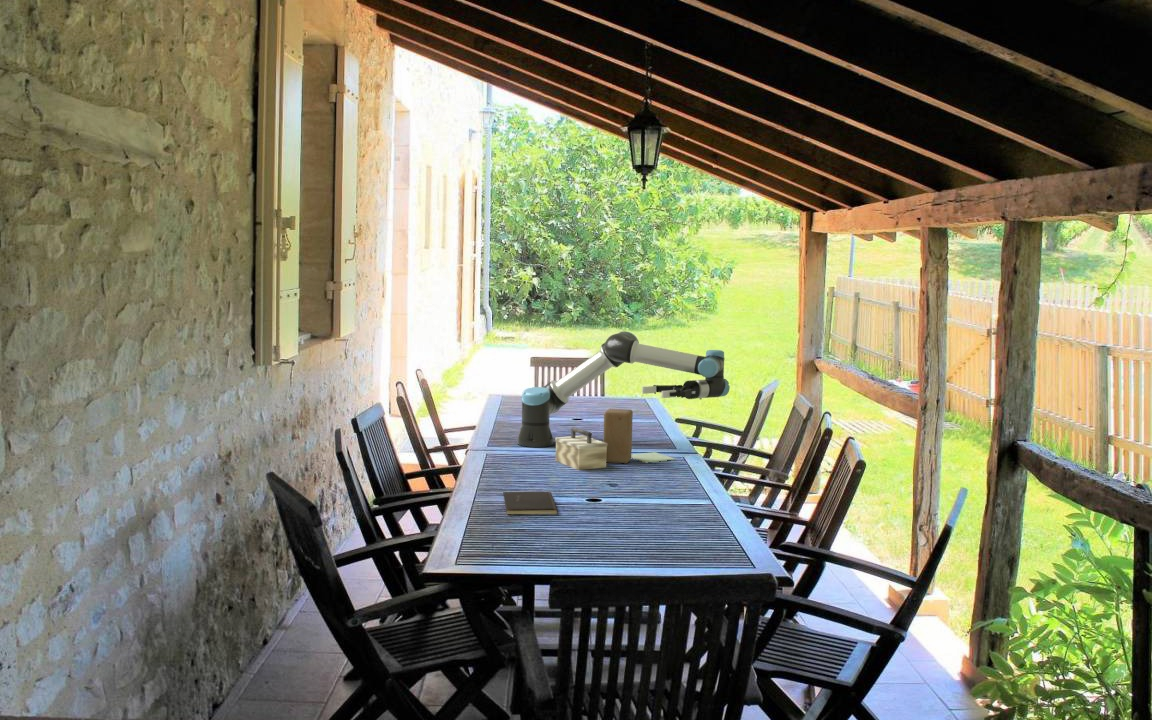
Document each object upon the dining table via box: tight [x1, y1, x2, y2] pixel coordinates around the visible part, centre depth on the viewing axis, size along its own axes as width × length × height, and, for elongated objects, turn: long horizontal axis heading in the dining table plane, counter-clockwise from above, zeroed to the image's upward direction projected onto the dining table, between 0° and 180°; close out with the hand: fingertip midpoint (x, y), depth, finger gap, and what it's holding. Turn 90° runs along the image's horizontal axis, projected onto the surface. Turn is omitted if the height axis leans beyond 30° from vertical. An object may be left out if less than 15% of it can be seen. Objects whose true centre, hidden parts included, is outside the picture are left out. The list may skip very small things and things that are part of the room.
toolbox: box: [554, 426, 608, 471], centre depth 386 cm, size 18×13×13 cm
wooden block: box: [602, 408, 634, 465], centre depth 393 cm, size 10×10×20 cm
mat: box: [631, 451, 676, 464], centre depth 400 cm, size 14×14×1 cm
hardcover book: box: [502, 491, 559, 515], centre depth 322 cm, size 16×23×2 cm
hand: (651, 392), depth 398 cm, fingers open, 13 cm apart
